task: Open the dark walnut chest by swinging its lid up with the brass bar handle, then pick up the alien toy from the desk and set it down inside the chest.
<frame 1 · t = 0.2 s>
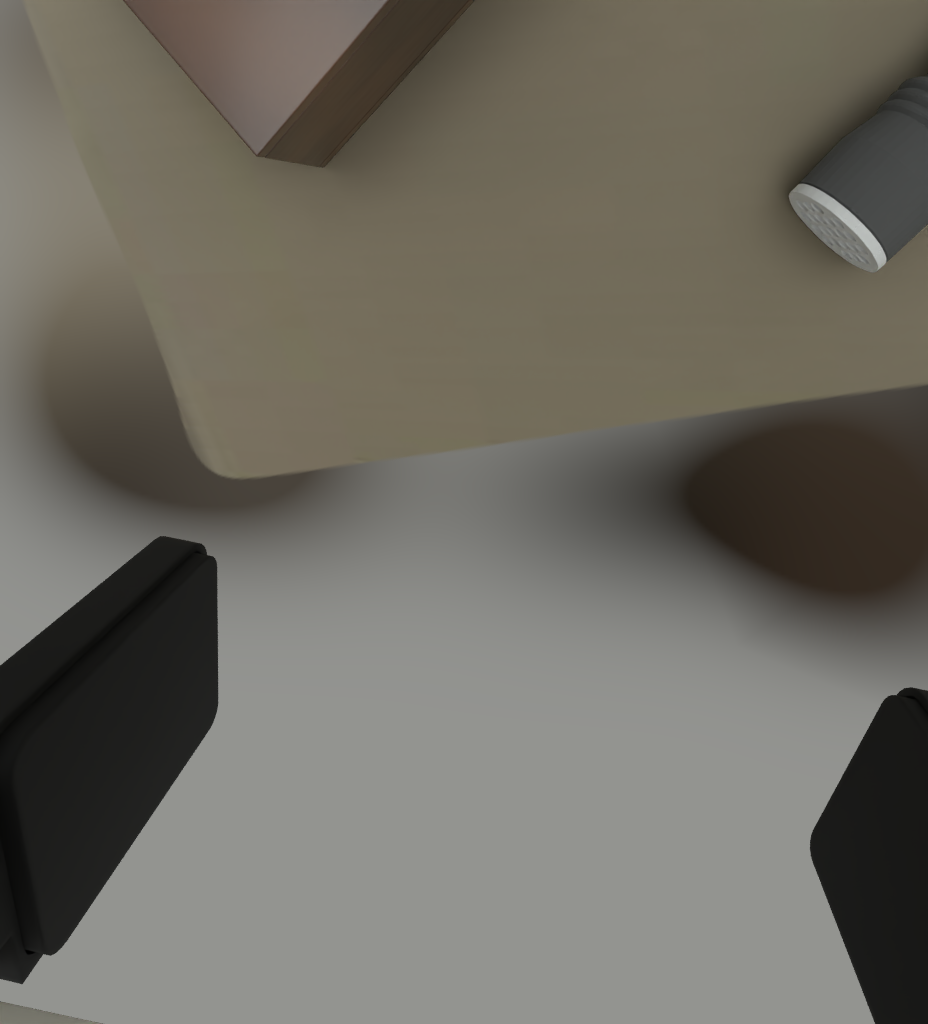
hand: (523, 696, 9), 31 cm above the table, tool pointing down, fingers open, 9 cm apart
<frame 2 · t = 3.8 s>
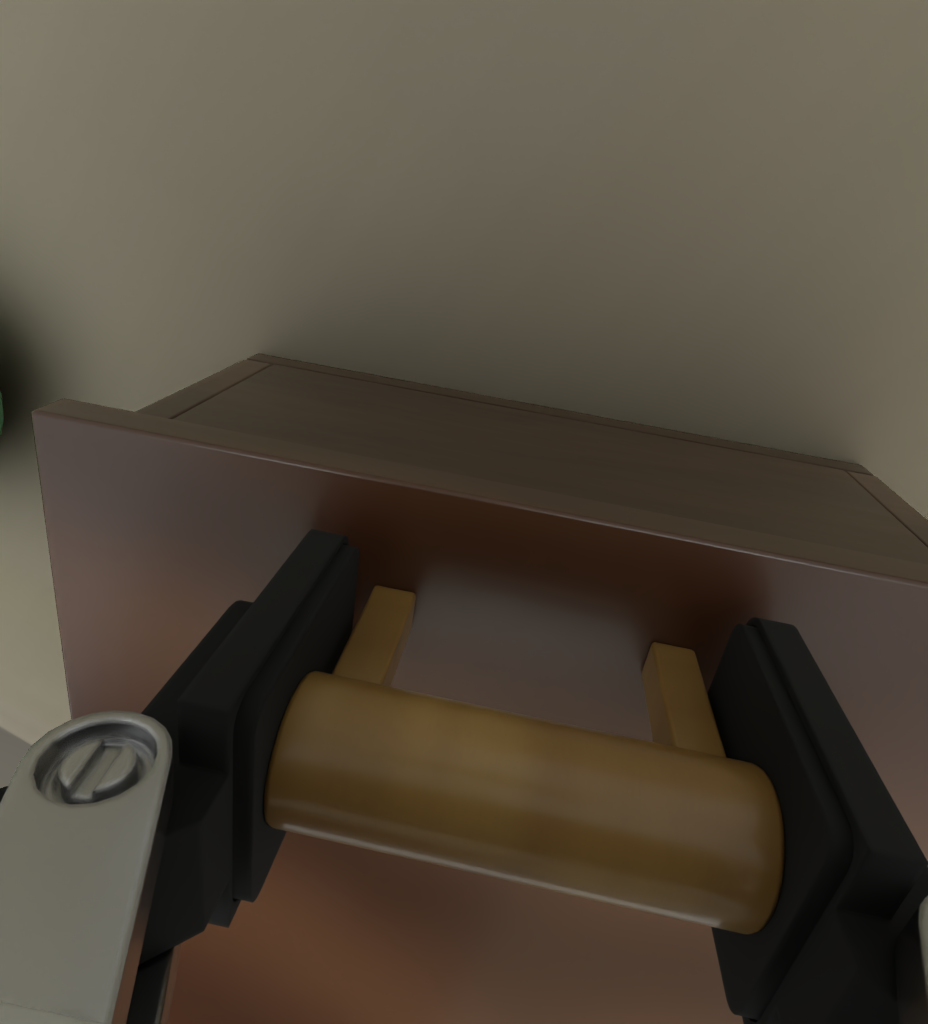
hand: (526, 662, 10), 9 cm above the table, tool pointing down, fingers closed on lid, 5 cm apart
lid: (455, 980, 12), point 10 cm above the table, hinge at 0.0°, touching gripper
chest: (499, 653, 22), on the table
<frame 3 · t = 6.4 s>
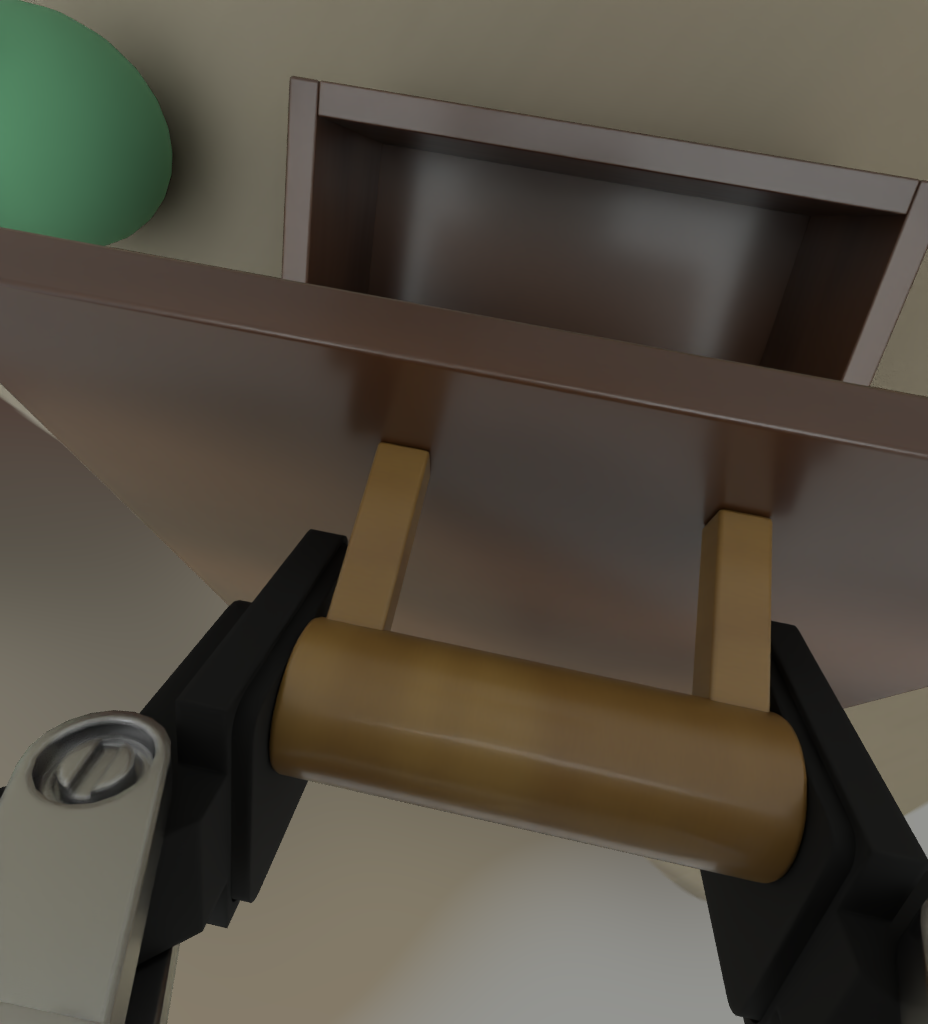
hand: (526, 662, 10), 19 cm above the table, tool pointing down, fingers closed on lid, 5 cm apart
lid: (504, 694, 14), point 16 cm above the table, hinge at 41.4°, touching gripper
alien toy: (119, 145, 26), on the table
chest: (548, 384, 27), on the table
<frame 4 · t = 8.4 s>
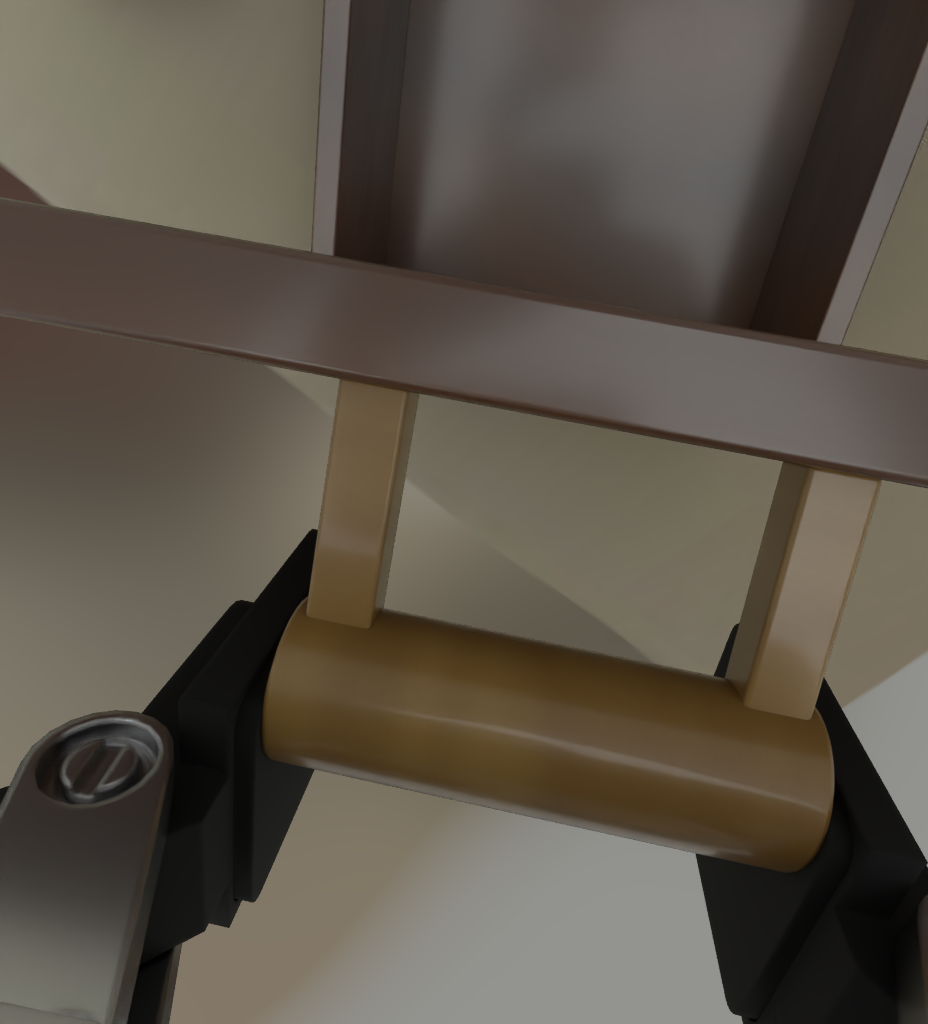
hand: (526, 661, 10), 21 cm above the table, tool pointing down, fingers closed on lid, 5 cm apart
lid: (546, 496, 13), point 17 cm above the table, hinge at 75.2°, touching gripper
chest: (598, 128, 25), on the table
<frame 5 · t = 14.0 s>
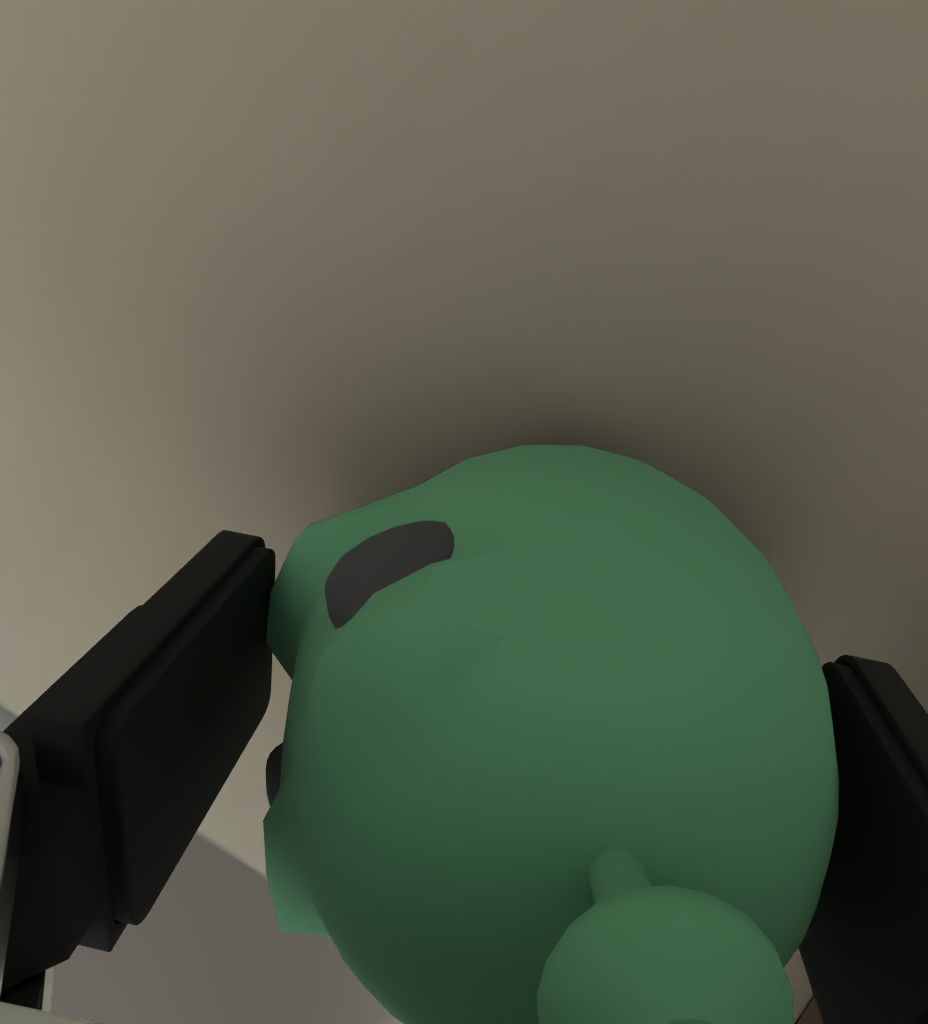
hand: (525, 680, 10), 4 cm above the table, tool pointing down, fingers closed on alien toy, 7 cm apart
alien toy: (535, 545, 14), on the table, touching gripper
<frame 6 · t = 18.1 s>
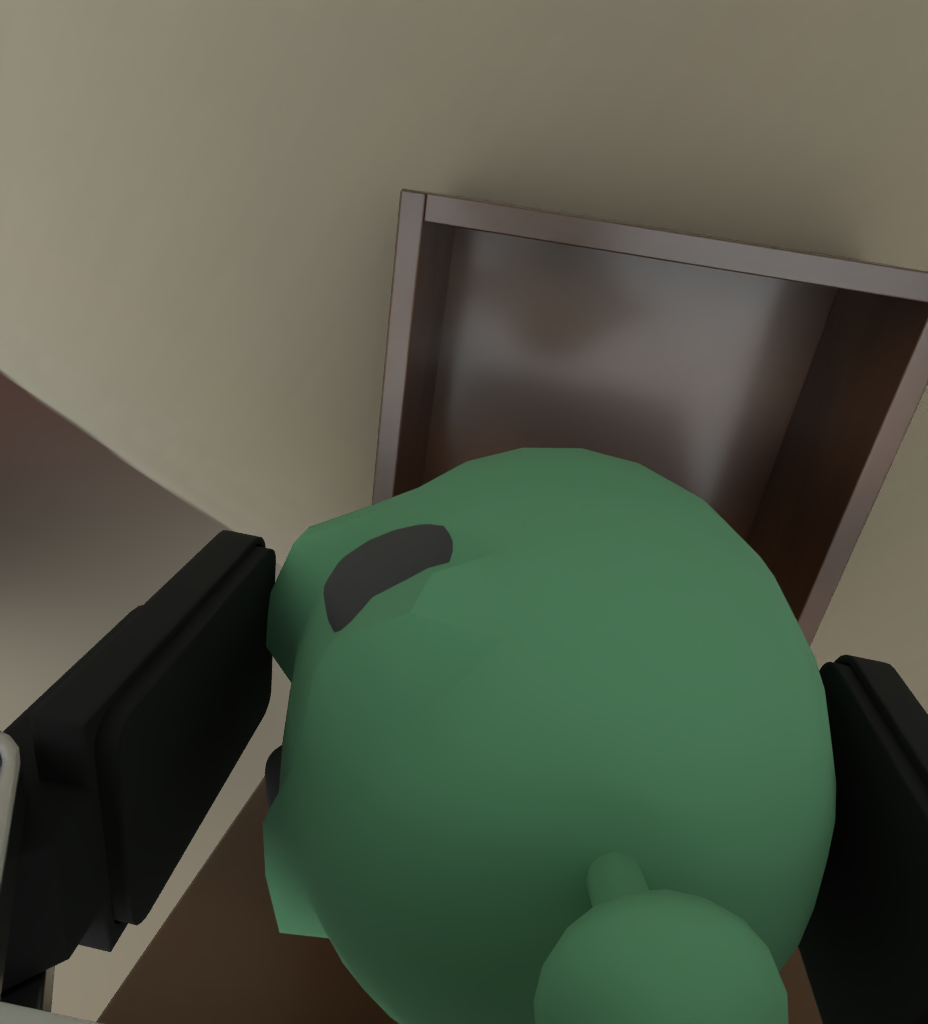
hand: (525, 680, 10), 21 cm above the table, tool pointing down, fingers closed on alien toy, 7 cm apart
lid: (565, 905, 18), point 17 cm above the table, hinge at 75.5°
alien toy: (534, 547, 14), point 17 cm above the table, touching gripper
chest: (600, 426, 30), on the table
when the fingers open (5 cm above the table, at t = 22.5 s): alien toy stays where it is, resting on chest.
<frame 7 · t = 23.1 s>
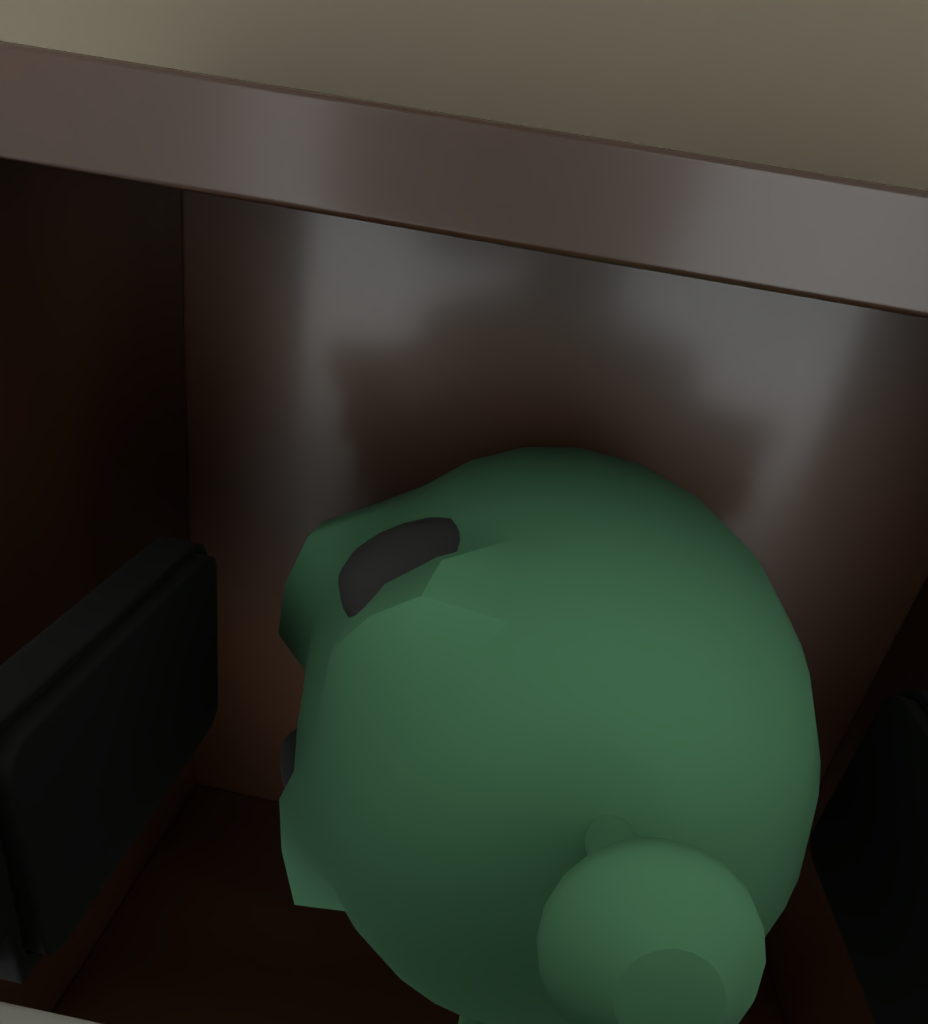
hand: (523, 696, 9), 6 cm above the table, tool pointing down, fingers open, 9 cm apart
alien toy: (535, 544, 14), point 1 cm above the table, touching chest
chest: (523, 589, 15), on the table
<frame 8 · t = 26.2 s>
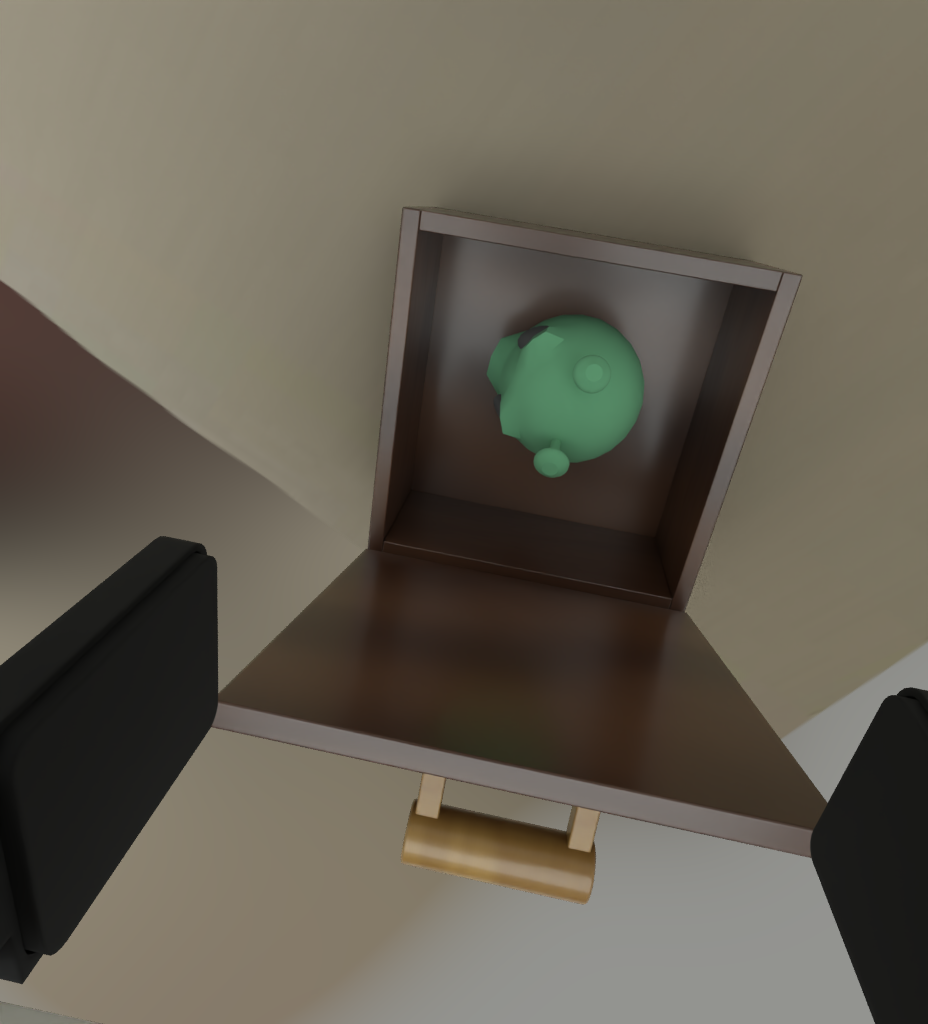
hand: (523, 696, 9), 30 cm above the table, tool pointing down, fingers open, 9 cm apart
lid: (511, 702, 26), point 17 cm above the table, hinge at 75.5°
alien toy: (563, 366, 37), point 1 cm above the table, touching chest
chest: (557, 389, 38), on the table
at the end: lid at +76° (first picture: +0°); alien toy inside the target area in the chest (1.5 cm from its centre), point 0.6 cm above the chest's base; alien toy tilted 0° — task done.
